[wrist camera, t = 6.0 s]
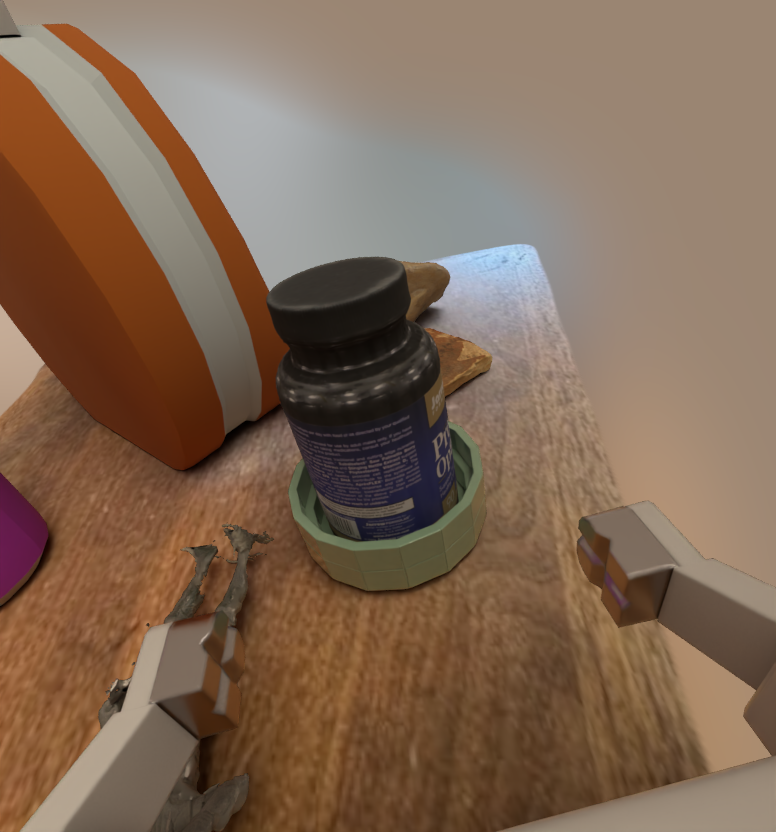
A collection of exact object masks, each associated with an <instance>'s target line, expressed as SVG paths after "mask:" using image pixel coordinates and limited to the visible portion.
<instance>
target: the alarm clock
mask: <svg viewBox="0 0 776 832" xmlns="http://www.w3.org/2000/svg"><path fill="white" fill-rule="evenodd" d="M268 293H269V290H268V288H267V286H266V284H265V282H264V280H263V278H262V276H261V274H260V272H259V270H258V268H257V266H256V264H255V262H254V259H253V257H252V255H251V253H250V251H249V249H248V247H247V245H246V243H245V240H244V238H243V237H242V235H241V233H240V232H239V230H238V228H237V227H236V225H235V223H234V221H233V220H232V218H231V216H230V215H229V213H228V212H227V209H226V208H225V206H224V204H223V203H222V201H221V199H220V197H219V196H218V194H217V192H216V191H215V189H214V187H213V185H212V184H211V182H210V180H209V179H208V177H207V175H206V173H205V172H204V170H203V168H202V167H201V165H200V163H199V162H198V160H197V158H196V156H195V155H194V153H193V152H192V150H191V149H190V148H189V146H188V145H187V144H186V142H185V141H184V139H183V138H182V137H181V136H180V134H179V133H178V131H177V130H176V129H175V127H174V126H173V124H172V123H171V122H170V120H169V119H168V118H167V116H166V115H165V114H164V112H163V111H162V109H161V108H160V107H159V105H158V104H157V103H156V101H155V100H154V99H153V97H152V96H151V95H150V93H149V92H148V90H147V89H146V88H145V86H144V85H143V84H142V82H141V81H140V79H139V78H138V77H137V75H136V74H135V73H134V72H133V71H131V70H130V69H129V68H127V67H126V66H125V65H124V64H123V63H121V62H120V61H119V60H117V59H116V58H115V57H114V56H112V55H111V54H110V53H109V52H107V51H106V50H105V49H103V48H102V47H101V46H100V45H98V44H97V43H96V42H95V41H93V40H92V39H91V38H89V37H88V36H87V35H86V34H84V33H83V32H82V31H81V30H79V29H78V28H76V27H73V26H71V25H69V24H45V25H22V26H21V25H20V26H16V25H15V23H14V21H13V19H12V17H11V15H10V13H9V11H8V10H7V8H6V6H5V3H4V1H2V0H0V304H1V306H2V307H3V309H4V310H5V311H6V313H7V314H8V316H9V317H10V318H11V320H12V321H13V322H14V324H15V325H16V326H17V328H18V329H19V330H20V332H21V333H22V334H23V335H24V337H25V338H26V339H27V340H28V342H29V343H30V344H31V346H32V347H33V348H34V349H35V351H36V352H37V353H38V354H39V356H40V357H41V358H42V360H43V361H44V362H45V364H46V365H47V366H48V367H49V368H50V370H51V371H52V372H53V373H54V374H55V376H56V377H57V378H58V379H59V380H60V381H61V383H62V384H63V385H64V386H65V387H66V389H67V390H68V391H69V392H70V393H71V394H72V396H73V397H74V398H75V399H76V400H77V401H78V402H79V403H80V404H81V405H82V406H83V407H84V409H85V410H86V411H87V412H88V413H89V414H90V415H91V416H92V417H93V418H94V419H95V420H97V421H98V422H100V423H102V424H103V425H105V426H106V427H108V428H110V429H111V430H113V431H114V432H116V433H118V434H119V435H121V436H122V437H124V438H126V439H127V440H129V441H130V442H132V443H134V444H135V445H137V446H138V447H140V448H142V449H143V450H145V451H146V452H148V453H150V454H151V455H153V456H154V457H156V458H158V459H159V460H161V461H162V462H164V463H166V464H167V465H169V466H170V467H172V468H174V469H179V470H185V469H187V468H190V467H192V466H194V465H195V464H197V463H198V462H200V461H201V460H202V459H204V458H205V457H207V456H208V455H209V454H211V453H212V452H213V451H215V450H216V449H218V448H219V447H220V446H221V445H222V443H223V441H224V438H225V436H226V434H227V433H229V432H230V431H231V430H233V429H234V428H236V427H237V426H238V425H240V424H241V423H243V422H244V421H246V420H248V421H257V420H258V419H259V418H261V417H262V416H263V415H265V414H266V413H268V412H269V411H270V410H272V409H273V408H275V407H276V406H277V405H279V404H280V403H281V402H280V401H279V396H278V393H277V389H276V378H275V377H276V373H277V371H278V366H279V363H280V361H281V360H282V358H283V356H284V355H285V354H286V352H288V350H289V349H290V348H289V347H288V345H287V344H286V343H284V342H283V340H282V339H281V338H280V336H279V335H278V334H277V332H276V330H275V328H274V325H273V322H272V318H271V315H270V312H269V310H268V307H267V303H266V297H267V295H268Z"/></svg>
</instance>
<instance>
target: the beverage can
mask: <svg viewBox="0 0 776 832" xmlns="http://www.w3.org/2000/svg"><path fill="white" fill-rule="evenodd" d="M47 538H48V530H47V524H46V522H45V521H44V519H43V518H42V517H41V515H40V514H39V513H38V512H37V511H36V510H35V508H34V507H33V506H32V505H31V504H30V503H29V502H28V501H27V500H26V499H25V498H24V497H23V496H22V495H21V494H20V493H19V492H18V490H17V489H16V488H15V487H14V486H13V485H12V484H11V483H10V482H9V481H8V480H7V479H6V478H5V477H4V476H3V475H2V474H1V473H0V606H1V605H3V604H4V603H5V602H6V601H8V600H9V599H10V598H11V597H12V596H13V595H14V594H15V593H16V592H17V591H18V590H19V589H20V588H21V587H22V586H23V585H24V584H25V583H26V582H27V580H28V579H29V577H30V576H31V575H32V573H33V572H34V570H35V569H36V567H37V566H38V564H39V561H40V558H41V556H42V553H43V550H44V547H45V544H46V541H47Z"/></svg>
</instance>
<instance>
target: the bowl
mask: <svg viewBox="0 0 776 832" xmlns="http://www.w3.org/2000/svg"><path fill="white" fill-rule="evenodd" d="M448 423H449V431H450V438H451V444H452V452H453V460H454V467H455V474H456V481H457V490H458V499H459V503H458V504H456V505H455V506H454V507H453V508H452V509H451V510H450V511H449V512H448V513H446V514H445V515H444V516H443V517H442V518H441V519H440V520H439V521H437V522H436V523H435V524H433V525H430V526H428V527H425V528H423V529H421V530H418V531H416V532H413V533H411V534H408V535H406V536H403V537H401V538H398V539H392V540H378V541H364V542H355V541H351V540H348V539H344V538H341V537H337V536H335V535H334V534H333V532H332V530H331V528H330V526H329V523H328V520H327V518H326V515H325V513H324V511H323V508H322V505H321V503H320V501H319V498H318V495H317V493H316V490H315V488H314V485H313V483H312V480H311V478H310V475H309V473H308V470H307V468H306V465H305V463H304V460H303V458H302V459H301V461H300V462H299V463H298V464H297V466H296V468H295V471H294V474H293V477H292V480H291V483H290V486H289V489H288V495H289V500H290V504H291V509H292V514H293V518H294V520H295V522H296V524H297V526H298V529H299V531H300V533H301V535H302V537H303V539H304V542H305V544H306V546H307V548H308V550H309V552H310V555H311V557H312V558H313V559H314V560H315V561H316V562H317V563H318V564H319V565H320V566H321V567H322V568H323V569H324V570H325V571H326V572H327V573H328V574H329V576H330V577H331V578H333V579H335V580H337V581H340V582H343V583H346V584H349V585H352V586H355V587H358V588H360V589H363V590H366V591H377V590H395V589H409V587H410V588H412V587H414V586H417V585H419V584H421V583H424V582H426V581H428V580H431V579H433V578H435V577H438V576H440V575H442V574H445V573H447V571H448V572H449V571H450V570H451V569H452V568H453V567H454V566H455V565H456V564H457V563H458V562H459V561H460V560H461V559H462V558H463V557H464V556H465V555H466V554H467V553H468V552H469V551H470V550H471V549H472V548H473V547H474V546H475V544H476V542H477V539H478V537H479V534H480V531H481V529H482V526H483V523H484V521H485V518H486V514H487V513H486V500H485V487H484V475H483V468H482V462H481V456H480V450H479V447H478V445H477V444H476V443H475V442H474V441H473V440H472V439H471V437H470V436H469V435H468V434H467V433H466V432H465V431H464V429H463V428H462V427H461V426H458V425H456V424H454V423H452V422H450V421H448Z"/></svg>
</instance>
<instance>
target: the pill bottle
mask: <svg viewBox="0 0 776 832" xmlns="http://www.w3.org/2000/svg"><path fill="white" fill-rule="evenodd" d="M266 303H267V307H268V310H269V312H270V315H271V318H272V322H273V325H274V328H275V330H276V332H277V334H278V335H279V336H280V338H281V339H282V340H283V342H284V343H286V344H287V345H288V347H289V348H290V349H289V350H288V352H286V354H285V355H284V356H283V358H282V360H281V361H280V363H279V366H278V371H277V373H276V377H275V378H276V389H277V393H278V396H279V401H280V402H281V406H282V407H283V409H284V412H285V414H286V417H287V419H288V422H289V424H290V427H291V429H292V432H293V435H294V437H295V440H296V442H297V445H298V447H299V450H300V452H301V455H302V457H303V460H304V463H305V465H306V468H307V470H308V473H309V475H310V478H311V480H312V483H313V485H314V488H315V490H316V493H317V495H318V498H319V501H320V503H321V505H322V508H323V511H324V513H325V515H326V518H327V520H328V523H329V526H330V528H331V530H332V532H333V534H334V535H335V536H337V537H341V538H344V539H348V540H351V541H355V542H364V541H378V540H392V539H398V538H401V537H403V536H406V535H408V534H411V533H413V532H416V531H418V530H421V529H423V528H425V527H428V526H430V525H433V524H435V523H436V522H437V521H439V520H440V519H441V518H442V517H443V516H444V515H445V514H446V513H448V512H449V511H450V510H451V509H452V508H453V507H454V506H455V505H456V504H458V503H459V499H458V490H457V481H456V474H455V467H454V460H453V452H452V444H451V438H450V431H449V423H448V416H447V409H446V402H445V395H444V387H443V381H442V374H441V367H440V357H439V353H438V348H437V346H436V344H435V341H434V339H433V338H432V337H431V335H430V334H429V333H428V332H427V331H426V330H425V329H424V328H423V327H421V326H420V325H418V324H416V323H415V322H412V321H409V320H407V319H406V314H407V312H408V310H409V307H410V303H411V296H410V293H409V287H408V282H407V275H406V271H405V267H404V265H403V264H402V263H401V262H399V261H397V260H395V259H392V258H386V257H359V258H352V259H345V260H340V261H335V262H332V263H327V264H324V265H320V266H317V267H314V268H310V269H308V270H305V271H303V272H300V273H298V274H295V275H293V276H291V277H290V278H287V279H286V280H283V281H282V282H280V283H279V284H277V285H276V286H275V287H274V288H273V289H272V290H271V291H270V292H269V293H268V295H267V297H266Z"/></svg>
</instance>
